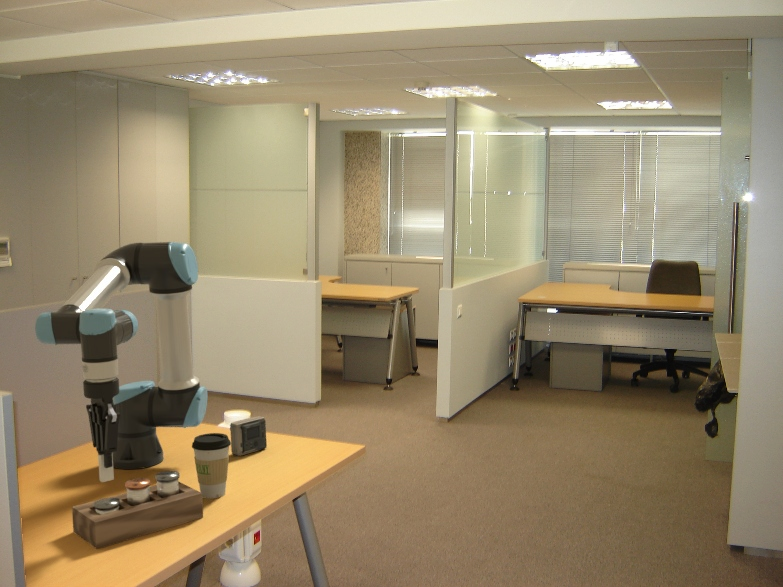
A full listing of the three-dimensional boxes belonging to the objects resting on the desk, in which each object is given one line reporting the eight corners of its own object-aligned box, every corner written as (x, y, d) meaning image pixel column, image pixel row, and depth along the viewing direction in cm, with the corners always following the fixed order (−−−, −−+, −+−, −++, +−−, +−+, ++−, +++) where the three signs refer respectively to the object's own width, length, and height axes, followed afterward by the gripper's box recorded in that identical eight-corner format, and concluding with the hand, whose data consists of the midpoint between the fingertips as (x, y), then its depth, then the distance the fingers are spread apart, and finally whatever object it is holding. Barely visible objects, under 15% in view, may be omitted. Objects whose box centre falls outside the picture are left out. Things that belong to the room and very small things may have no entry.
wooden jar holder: (73, 532, 186) (72, 506, 185) (176, 503, 203) (175, 480, 202) (96, 549, 176) (95, 522, 175) (203, 517, 193) (202, 493, 193)
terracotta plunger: (122, 510, 189) (120, 481, 189) (144, 504, 193) (143, 476, 192) (132, 516, 185) (131, 487, 184) (155, 510, 189) (154, 482, 188)
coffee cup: (196, 488, 214) (194, 433, 212) (234, 486, 215) (232, 431, 213) (190, 501, 204) (188, 443, 203) (230, 500, 205) (228, 442, 203)
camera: (258, 445, 252) (257, 414, 251) (270, 449, 248) (269, 417, 247) (227, 454, 244) (226, 421, 243) (239, 458, 240) (238, 425, 239)
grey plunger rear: (152, 502, 194) (151, 474, 194) (173, 496, 198) (172, 469, 197) (163, 508, 190) (162, 480, 190) (184, 502, 194) (183, 474, 193)
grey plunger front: (91, 530, 185) (89, 501, 184) (115, 524, 188) (113, 495, 188) (101, 537, 180) (100, 508, 180) (125, 530, 184) (124, 502, 184)
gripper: (72, 376, 183) (79, 476, 186) (96, 386, 173) (102, 491, 176) (105, 371, 188) (110, 469, 191) (129, 380, 178) (135, 483, 181)
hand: (106, 479), depth 184 cm, fingers closed
